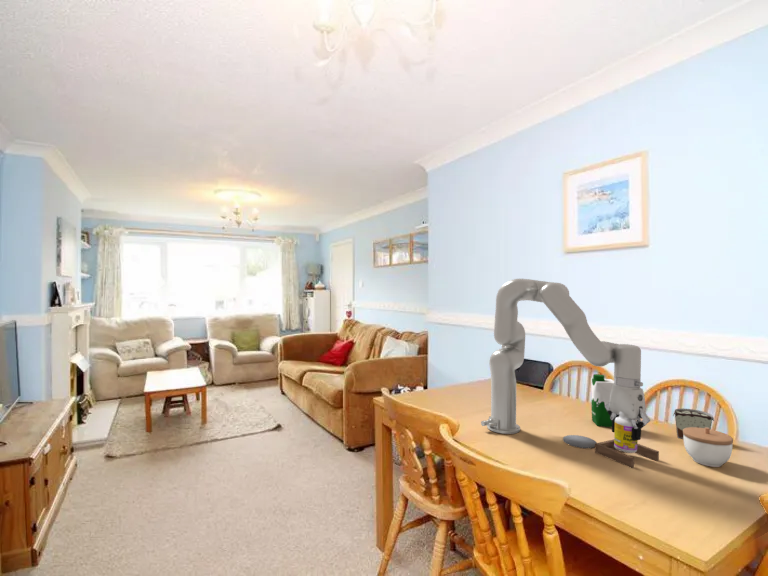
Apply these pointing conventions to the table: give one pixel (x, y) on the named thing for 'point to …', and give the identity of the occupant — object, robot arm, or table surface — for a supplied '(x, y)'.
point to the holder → (611, 453)
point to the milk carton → (601, 400)
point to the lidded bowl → (707, 446)
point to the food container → (691, 420)
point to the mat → (579, 441)
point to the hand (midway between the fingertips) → (625, 435)
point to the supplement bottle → (624, 434)
